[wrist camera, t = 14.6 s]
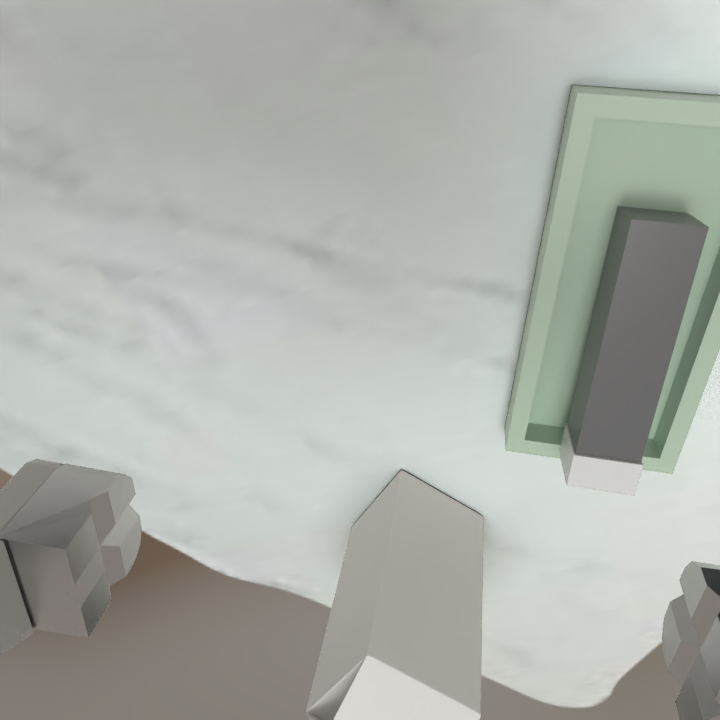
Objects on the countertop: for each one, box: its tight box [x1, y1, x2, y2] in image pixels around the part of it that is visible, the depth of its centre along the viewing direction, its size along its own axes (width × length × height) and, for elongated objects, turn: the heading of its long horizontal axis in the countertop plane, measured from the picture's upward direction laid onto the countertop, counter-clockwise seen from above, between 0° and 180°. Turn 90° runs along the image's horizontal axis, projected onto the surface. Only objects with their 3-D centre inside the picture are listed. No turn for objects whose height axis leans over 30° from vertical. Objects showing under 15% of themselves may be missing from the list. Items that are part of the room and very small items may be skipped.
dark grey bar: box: [559, 206, 709, 496], centre depth 36 cm, size 15×4×4 cm, turn 177°
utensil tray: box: [505, 85, 720, 474], centre depth 36 cm, size 10×21×2 cm, turn 177°
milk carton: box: [306, 471, 484, 720], centre depth 41 cm, size 7×7×19 cm
